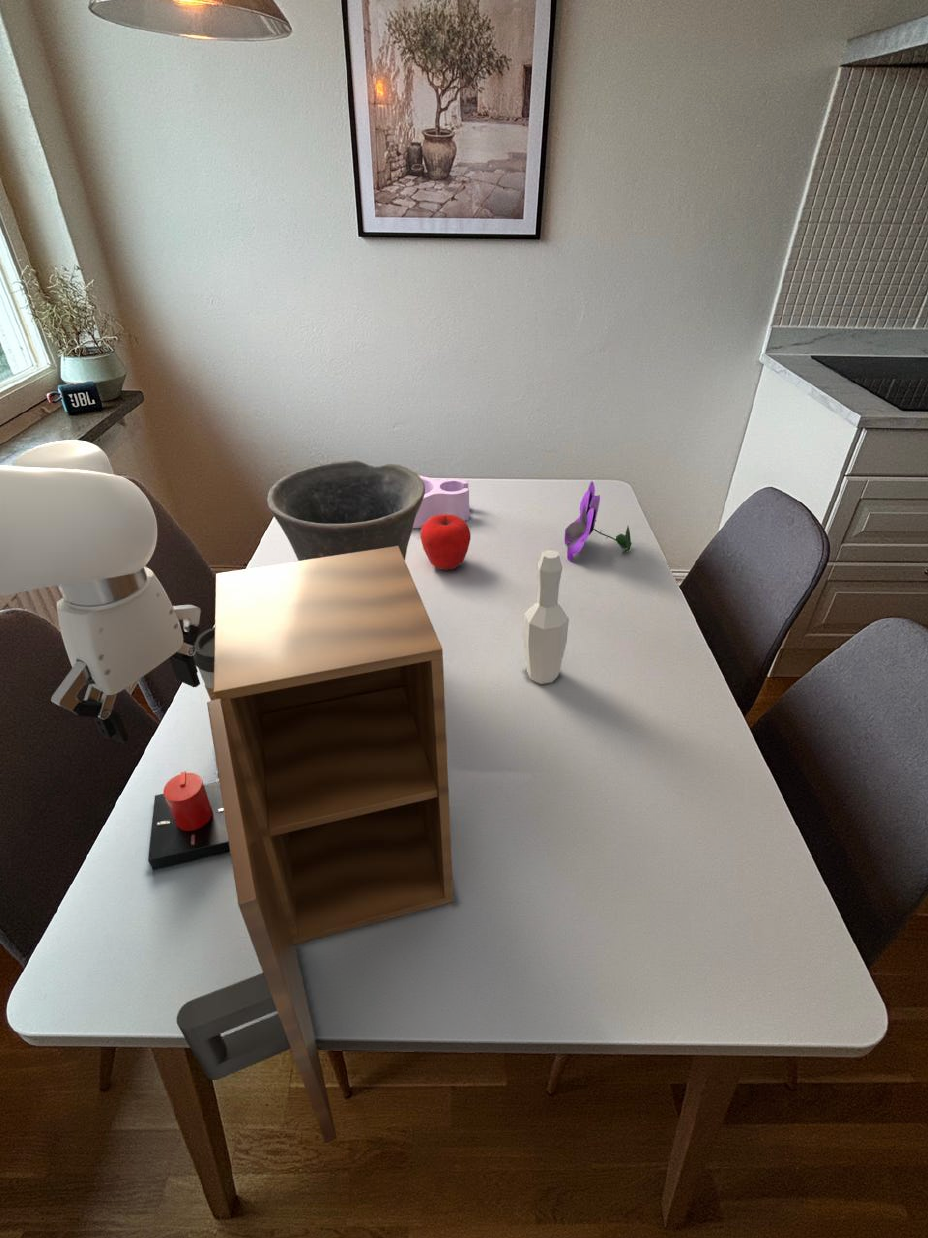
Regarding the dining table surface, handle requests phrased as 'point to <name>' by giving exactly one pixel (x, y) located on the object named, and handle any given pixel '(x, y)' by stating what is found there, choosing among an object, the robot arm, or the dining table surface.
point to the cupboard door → (273, 949)
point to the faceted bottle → (546, 623)
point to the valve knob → (188, 801)
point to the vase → (346, 508)
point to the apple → (445, 540)
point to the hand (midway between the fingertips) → (154, 708)
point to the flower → (589, 525)
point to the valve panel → (187, 834)
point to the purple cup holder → (443, 499)
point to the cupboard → (339, 735)
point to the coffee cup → (206, 659)
